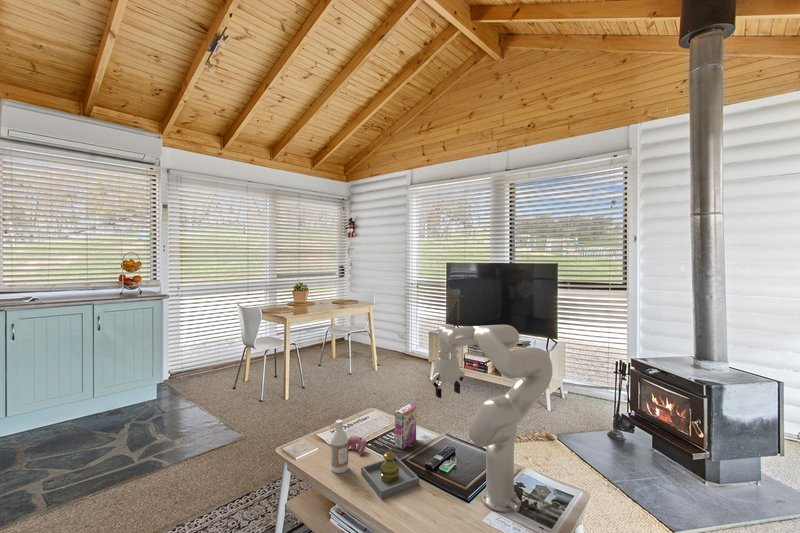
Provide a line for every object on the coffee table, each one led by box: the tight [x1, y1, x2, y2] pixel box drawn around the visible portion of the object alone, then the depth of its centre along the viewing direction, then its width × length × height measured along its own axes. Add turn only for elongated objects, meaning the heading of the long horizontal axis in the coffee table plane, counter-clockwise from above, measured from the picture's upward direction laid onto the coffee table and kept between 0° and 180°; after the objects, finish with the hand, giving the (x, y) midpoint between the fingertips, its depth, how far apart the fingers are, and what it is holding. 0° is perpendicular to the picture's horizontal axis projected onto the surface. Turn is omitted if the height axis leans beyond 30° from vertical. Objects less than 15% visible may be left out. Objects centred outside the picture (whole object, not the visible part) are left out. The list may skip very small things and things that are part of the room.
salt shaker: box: [380, 451, 399, 483], centre depth 146 cm, size 7×7×10 cm
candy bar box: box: [394, 404, 417, 450], centre depth 174 cm, size 11×5×16 cm, turn 144°
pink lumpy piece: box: [348, 435, 368, 456], centre depth 168 cm, size 10×5×7 cm, turn 59°
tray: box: [360, 455, 420, 500], centre depth 146 cm, size 18×16×3 cm
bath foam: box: [330, 419, 349, 474], centre depth 153 cm, size 7×7×20 cm
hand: (448, 394), depth 158 cm, fingers open, 9 cm apart
